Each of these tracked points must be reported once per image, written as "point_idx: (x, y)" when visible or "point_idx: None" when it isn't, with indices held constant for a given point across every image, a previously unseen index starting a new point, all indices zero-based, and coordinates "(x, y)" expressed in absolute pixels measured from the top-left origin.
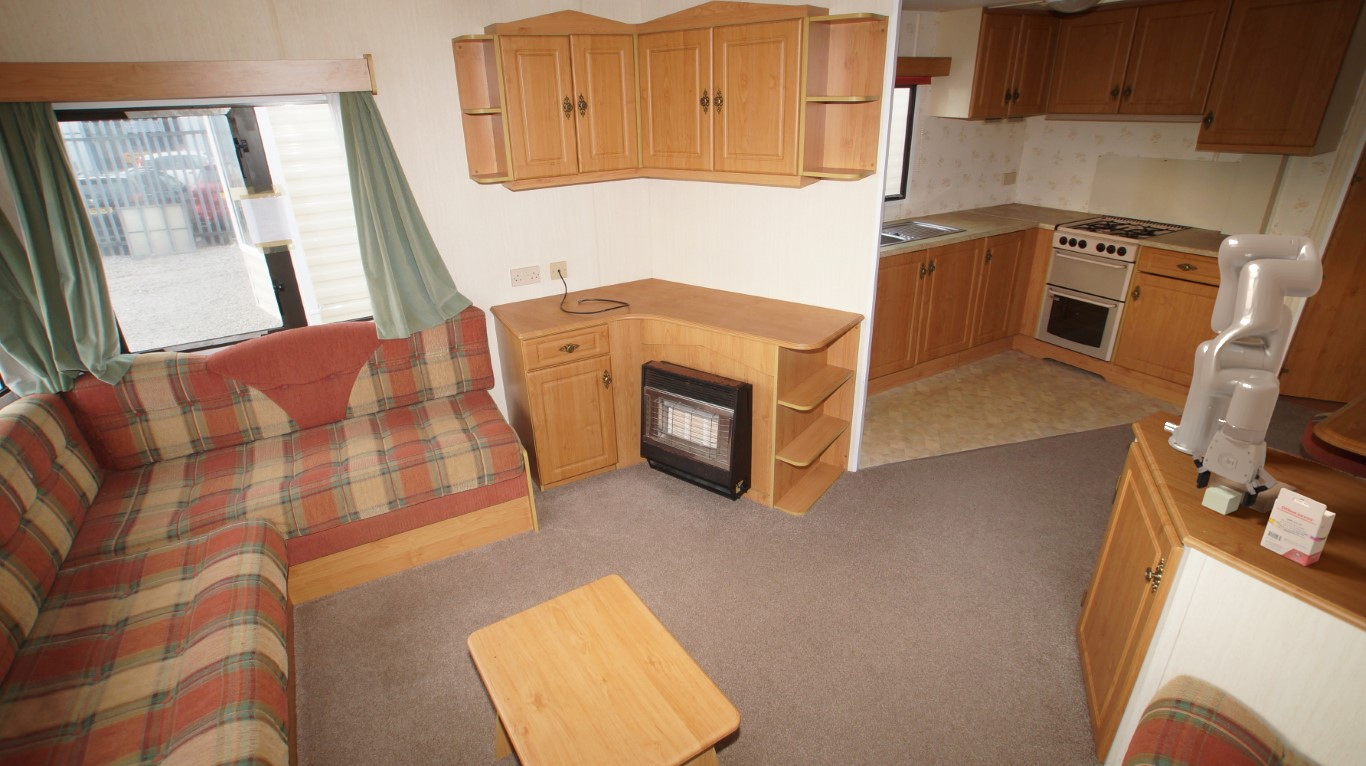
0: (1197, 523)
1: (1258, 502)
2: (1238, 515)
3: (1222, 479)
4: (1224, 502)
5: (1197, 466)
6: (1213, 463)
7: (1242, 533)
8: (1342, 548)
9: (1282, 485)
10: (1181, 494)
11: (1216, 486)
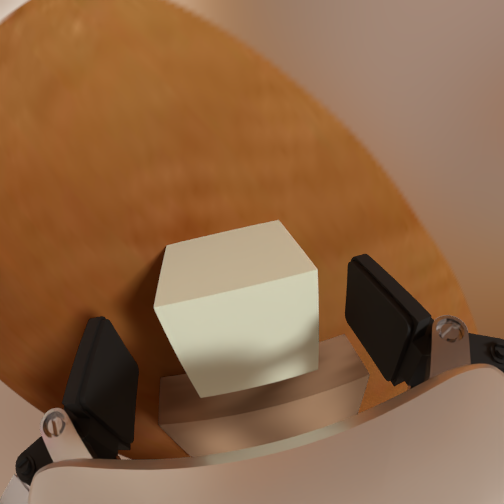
0: (134, 39)
1: (182, 402)
2: (153, 300)
3: (338, 394)
4: (178, 279)
5: (474, 340)
6: (472, 483)
7: (26, 193)
8: (13, 382)
9: None
10: (372, 209)
11: (308, 344)
